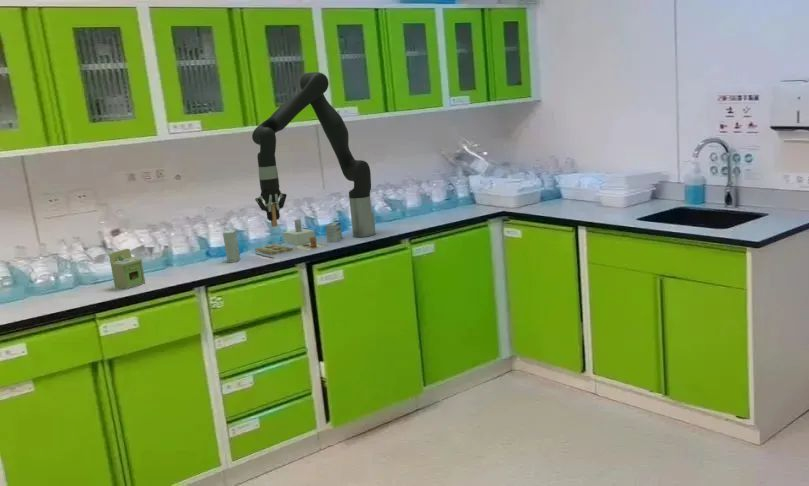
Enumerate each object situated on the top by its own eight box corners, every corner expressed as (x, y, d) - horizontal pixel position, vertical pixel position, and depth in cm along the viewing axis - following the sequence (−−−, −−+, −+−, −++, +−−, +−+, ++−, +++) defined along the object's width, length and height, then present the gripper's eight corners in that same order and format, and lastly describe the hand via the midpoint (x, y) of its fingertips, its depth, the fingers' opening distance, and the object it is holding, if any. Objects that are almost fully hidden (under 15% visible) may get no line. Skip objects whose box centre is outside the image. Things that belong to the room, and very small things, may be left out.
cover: (302, 241, 333) (299, 217, 331) (316, 244, 325) (313, 219, 323) (284, 245, 328) (281, 220, 326) (297, 248, 320) (294, 222, 317)
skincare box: (237, 261, 304) (233, 232, 301) (226, 262, 304) (222, 233, 301) (240, 258, 310) (236, 229, 307) (229, 259, 310) (225, 230, 307)
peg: (275, 225, 309) (273, 203, 307) (278, 225, 307) (275, 203, 306) (270, 226, 308) (267, 204, 306) (273, 226, 306) (270, 204, 304)
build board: (276, 249, 321) (276, 243, 320) (293, 253, 310) (293, 247, 309) (255, 254, 315) (254, 248, 314) (272, 258, 304) (271, 252, 303)
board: (313, 245, 322) (311, 233, 321) (328, 249, 313) (326, 235, 312) (292, 250, 316) (291, 237, 315) (307, 253, 307) (306, 240, 306)
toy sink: (126, 289, 273) (120, 254, 270) (114, 288, 277) (108, 253, 275) (146, 283, 280) (141, 248, 277) (134, 282, 284) (128, 247, 281)
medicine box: (337, 245, 319) (335, 225, 317) (327, 245, 320) (325, 225, 318) (342, 241, 327) (340, 221, 325) (332, 241, 327) (330, 222, 326)
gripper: (257, 180, 296) (263, 223, 300) (288, 175, 305) (293, 217, 308) (248, 179, 302) (254, 222, 306) (279, 174, 311) (284, 216, 314)
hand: (273, 219), depth 307 cm, fingers closed on peg, 2 cm apart
